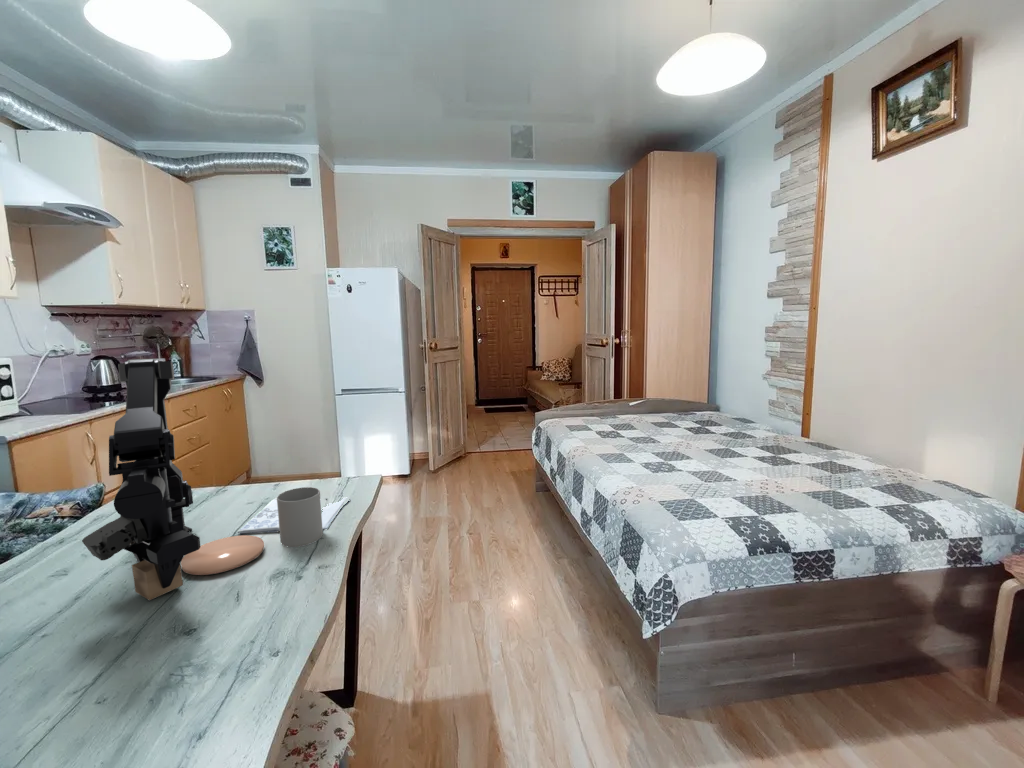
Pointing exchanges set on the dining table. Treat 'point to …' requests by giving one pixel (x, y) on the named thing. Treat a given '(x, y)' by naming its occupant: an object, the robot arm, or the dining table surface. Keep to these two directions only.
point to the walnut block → (152, 580)
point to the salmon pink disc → (222, 555)
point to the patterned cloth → (270, 521)
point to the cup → (299, 516)
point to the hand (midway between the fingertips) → (158, 582)
